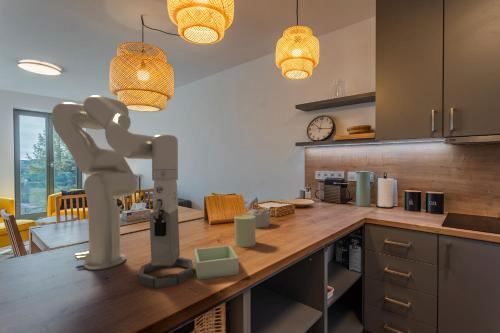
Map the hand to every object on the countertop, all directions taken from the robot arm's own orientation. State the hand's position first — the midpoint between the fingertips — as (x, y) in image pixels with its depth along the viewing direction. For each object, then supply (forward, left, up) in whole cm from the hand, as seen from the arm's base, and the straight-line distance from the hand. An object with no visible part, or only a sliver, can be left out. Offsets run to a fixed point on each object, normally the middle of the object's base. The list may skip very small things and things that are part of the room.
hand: (165, 231), depth 76 cm
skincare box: (0, 0, -9) cm, 9 cm away
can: (+31, +21, -14) cm, 40 cm away
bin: (+15, 0, -13) cm, 20 cm away
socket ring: (0, 0, -13) cm, 13 cm away
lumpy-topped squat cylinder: (+47, +49, -14) cm, 69 cm away
